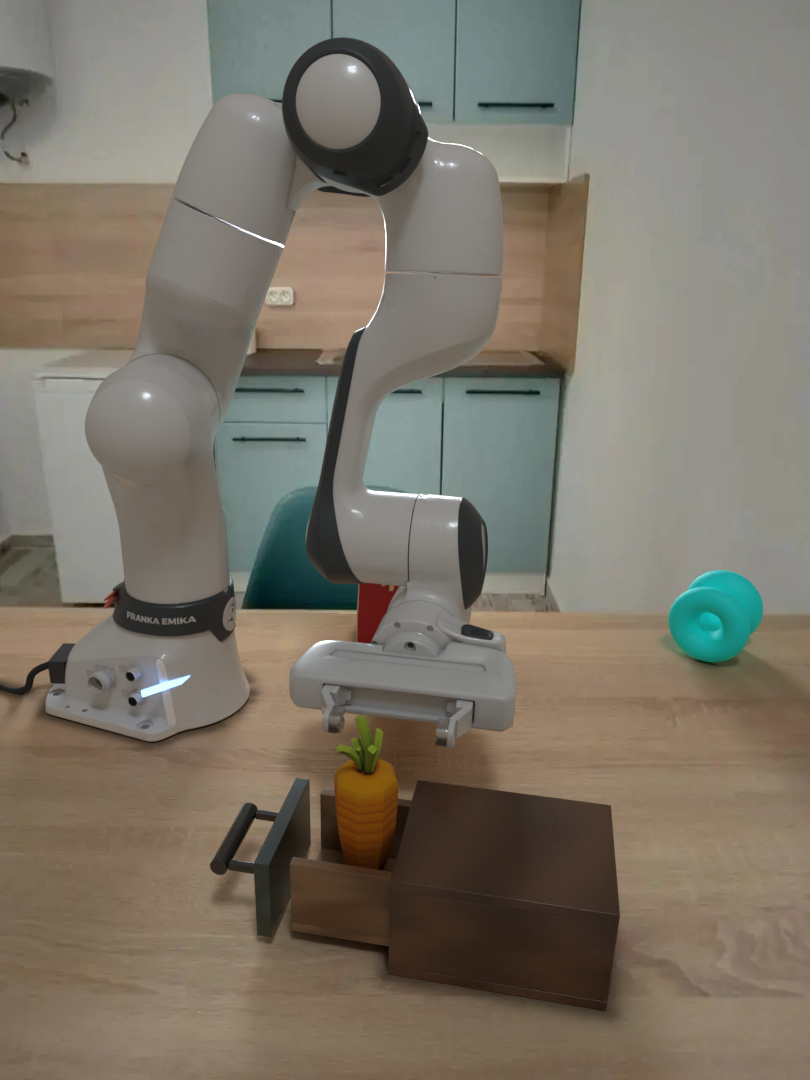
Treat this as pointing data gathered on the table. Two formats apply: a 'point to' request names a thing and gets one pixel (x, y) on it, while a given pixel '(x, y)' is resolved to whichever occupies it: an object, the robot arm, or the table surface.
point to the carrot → (365, 800)
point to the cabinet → (506, 894)
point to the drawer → (312, 871)
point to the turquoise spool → (715, 616)
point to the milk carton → (372, 609)
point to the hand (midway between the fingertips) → (386, 733)
